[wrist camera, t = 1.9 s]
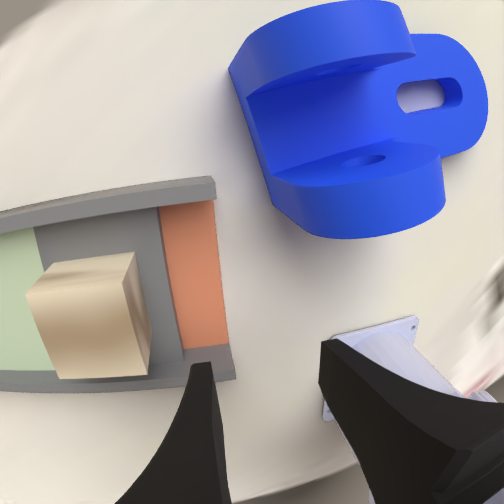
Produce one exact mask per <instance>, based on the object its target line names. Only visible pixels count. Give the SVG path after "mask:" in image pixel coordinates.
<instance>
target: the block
mask: <svg viewBox="0 0 504 504" xmlns="http://www.w3.org/2000/svg"><path fill="white" fill-rule="evenodd" d="M25 295H26V298H27V301H28V304H29V307H30V310H31V313H32V315H33V318H34V321H35V323H36V326H37V329H38V331H39V334H40V336H41V339H42V341H43V343H44V346H45V348H46V350H47V353H48V355H49V357H50V360H51V362H52V364H53V366H54V368H55V370H56V373H57V375H58V377H59V379H83V378H106V377H123V376H136V375H147V374H148V365H149V356H150V347H151V339H152V327H151V323H150V319H149V315H148V311H147V307H146V302H145V298H144V293H143V289H142V284H141V280H140V275H139V270H138V265H137V260H136V254H135V252H128V253H121V254H113V255H106V256H98V257H91V258H84V259H77V260H70V261H63V262H56V263H53V264H52V265H51V266H50V267H49V268H48V269H47V270H46V271H45V272H44V274H43V275H42V276H41V277H40V278H39V279H38V280H37V281H36V282H35V283H34V285H33V286H32V287H31V288H30V289H29V290H28V291H27V293H26V294H25Z"/></svg>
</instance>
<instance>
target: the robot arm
mask: <svg viewBox="0 0 504 504" xmlns="http://www.w3.org/2000/svg"><path fill="white" fill-rule="evenodd" d="M418 321H419V319H418V318H417V317H416V316H410V317H407V318H403V319H399V320H396V321H392V322H388V323H385V324H381V325H377V326H373V327H369V328H365V329H361V330H357V331H353V332H348V333H344V334H340V335H336V336H334V337H332V338H331V340H327V341H322V342H321V355H320V369H319V382H318V383H319V386H320V388H321V391H322V394H323V396H324V407H323V415H322V418H323V420H324V421H326V422H327V421H331V420H335V421H336V423H337V425H338V427H339V429H340V431H341V433H342V435H343V436H344V438H345V440H346V442H347V444H348V446H349V448H350V449H351V451H352V453H353V455H354V457H355V459H356V461H357V462H358V464H359V465H360V467H361V468H362V470H363V473H364V475H365V477H366V480H367V483H368V485H369V488H370V491H369V504H504V403H498V402H497V401H496V400H495V399H494V398H493V397H492V396H491V395H490V394H488V393H487V392H486V391H479V392H476V391H474V392H473V393H472V394H471V395H470V396H469V399H467V398H466V397H464V396H463V395H462V394H461V393H460V392H458V391H457V390H456V388H455V387H454V386H453V385H452V384H451V383H450V382H449V381H448V380H447V379H446V378H445V377H444V376H443V375H442V374H441V373H440V372H439V371H438V370H437V369H436V368H435V367H434V366H433V365H432V364H431V363H430V362H429V361H428V360H427V359H426V358H425V357H424V356H423V355H422V354H421V353H420V352H419V351H418V350H417V349H416V348H415V347H414V346H413V344H414V340H415V335H416V331H417V326H418ZM411 327H412V328H411ZM115 504H232V503H231V498H230V493H229V488H228V481H227V472H226V460H225V448H224V435H223V424H222V419H221V413H220V408H219V402H218V397H217V392H216V386H215V381H214V376H213V370H212V365H211V361H209V362H202V363H194V364H192V365H191V367H190V373H189V378H188V381H187V385H186V388H185V392H184V394H183V397H182V400H181V403H180V405H179V408H178V411H177V413H176V415H175V417H174V420H173V422H172V424H171V426H170V428H169V430H168V432H167V434H166V436H165V438H164V440H163V442H162V443H161V445H160V447H159V448H158V450H157V452H156V453H155V455H154V456H153V458H152V459H151V461H150V462H149V464H148V465H147V467H146V468H145V469H144V471H143V472H142V473H141V475H140V476H139V477H138V478H137V480H136V481H135V482H134V483H133V484H132V486H131V487H130V488H129V489H128V490H127V492H126V493H125V494H124V495H123V496H122V497H121V498H120V499H119V500H118V501H117V502H116V503H115Z"/></svg>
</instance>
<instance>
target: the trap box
mask: <svg viewBox="0 0 504 504" xmlns="http://www.w3.org/2000/svg"><path fill="white" fill-rule="evenodd" d="M215 199H216V189H215V182H214V180H213V179H212V177H211V176H202V177H194V178H185V179H177V180H169V181H162V182H154V183H147V184H140V185H134V186H127V187H121V188H115V189H109V190H103V191H97V192H91V193H86V194H80V195H75V196H70V197H65V198H60V199H55V200H50V201H45V202H40V203H36V204H31V205H27V206H22V207H18V208H13V209H9V210H5V211H1V212H0V391H9V392H29V393H101V392H123V391H138V390H151V389H163V388H173V387H182V386H186V385H187V381H188V378H189V373H190V367H191V365H192V364H194V363H202V362H209V361H211V365H212V370H213V376H214V381H215V382H221V381H228V380H234V379H236V373H235V367H234V363H233V359H232V355H231V351H230V346H229V341H228V333H227V325H226V317H225V309H224V300H223V292H222V283H221V274H220V265H219V256H218V246H217V236H216V227H215V216H214V206H213V200H215ZM128 252H135V254H136V260H137V265H138V270H139V275H140V280H141V284H142V289H143V293H144V298H145V302H146V307H147V311H148V315H149V319H150V323H151V327H152V339H151V347H150V356H149V365H148V374H147V375H136V376H123V377H106V378H83V379H59V377H58V375H57V373H56V370H55V368H54V366H53V364H52V362H51V360H50V357H49V355H48V353H47V350H46V348H45V346H44V343H43V341H42V339H41V336H40V334H39V331H38V329H37V326H36V323H35V321H34V318H33V315H32V313H31V310H30V307H29V304H28V301H27V298H26V295H25V294H26V293H27V291H28V290H29V289H30V288H31V287H32V286H33V285H34V283H35V282H36V281H37V280H38V279H39V278H40V277H41V276H42V275H43V274H44V272H45V271H46V270H47V269H48V268H49V267H50V266H51V265H52V264H53V263H56V262H63V261H70V260H77V259H84V258H91V257H98V256H106V255H113V254H121V253H128Z"/></svg>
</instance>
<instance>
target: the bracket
mask: <svg viewBox="0 0 504 504" xmlns="http://www.w3.org/2000/svg"><path fill="white" fill-rule="evenodd" d="M228 69H229V72H230V74H231V77H232V80H233V83H234V86H235V89H236V92H237V95H238V98H239V101H240V104H241V107H242V110H243V113H244V116H245V119H246V122H247V125H248V128H249V131H250V134H251V137H252V140H253V143H254V146H255V149H256V153H257V156H258V159H259V162H260V165H261V168H262V171H263V174H264V178H265V181H266V184H267V187H268V190H269V194H270V197H271V200H272V203H273V205H274V206H275V207H276V208H277V209H279V210H280V211H281V212H283V213H284V214H285V215H286V216H288V217H289V218H290V219H291V220H293V221H294V222H295V223H296V224H298V225H299V226H300V227H301V228H303V229H304V230H305V231H307V232H309V233H311V234H313V235H316V236H320V237H326V238H335V239H359V238H369V237H376V236H382V235H387V234H392V233H396V232H399V231H403V230H406V229H409V228H412V227H415V226H417V225H419V224H422V223H424V222H426V221H427V220H429V219H431V218H432V217H434V216H435V215H436V214H438V213H439V212H440V211H441V210H442V208H443V207H444V205H445V200H446V199H445V190H444V181H443V174H442V166H441V160H440V158H443V157H446V156H450V155H453V154H456V153H459V152H462V151H465V150H468V149H469V148H471V147H472V146H474V145H475V144H476V143H477V141H478V140H479V139H480V137H481V135H482V133H483V131H484V129H485V125H486V121H487V115H488V97H487V90H486V86H485V82H484V79H483V76H482V74H481V71H480V69H479V67H478V65H477V63H476V62H475V60H474V59H473V57H472V56H471V55H470V53H469V52H468V51H467V50H466V49H465V48H464V47H463V46H462V45H461V44H460V43H458V42H457V41H456V40H454V39H452V38H450V37H448V36H445V35H441V34H409V31H408V28H407V26H406V23H405V20H404V17H403V15H402V12H401V10H400V8H399V6H397V5H396V4H394V3H391V2H387V1H381V0H348V1H339V2H333V3H327V4H322V5H318V6H314V7H310V8H306V9H303V10H300V11H296V12H293V13H291V14H288V15H285V16H283V17H280V18H278V19H276V20H274V21H272V22H269V23H267V24H266V25H264V26H262V27H260V28H259V29H257V30H256V31H254V32H253V33H252V34H250V35H249V36H248V37H247V38H246V40H245V41H244V43H243V44H242V46H241V48H240V49H239V51H238V52H237V54H236V56H235V57H234V59H233V61H232V62H231V64H230V66H229V67H228ZM430 79H434V80H437V81H438V82H439V83H440V84H441V85H442V87H443V89H444V92H445V100H444V103H443V105H442V106H440V107H436V108H431V109H425V110H420V111H415V112H411V113H404V112H403V111H402V110H401V108H400V107H399V105H398V102H397V97H396V94H397V89H398V87H399V86H400V85H401V84H402V83H407V82H414V81H422V80H430Z"/></svg>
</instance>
